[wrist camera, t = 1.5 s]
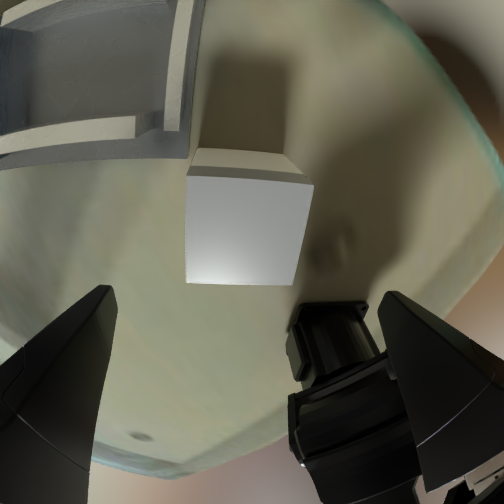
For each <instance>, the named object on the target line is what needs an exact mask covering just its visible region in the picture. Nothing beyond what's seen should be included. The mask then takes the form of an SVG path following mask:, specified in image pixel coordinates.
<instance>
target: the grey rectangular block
mask: <svg viewBox="0 0 504 504" xmlns="http://www.w3.org/2000/svg"><path fill="white" fill-rule="evenodd" d="M313 190H314V184H313V183H312V182H311V181H310V180H309V179H308V178H307V177H306V176H305V175H304V174H303V173H302V172H301V171H300V170H299V169H298V168H297V167H296V166H295V165H294V164H293V163H292V162H291V161H290V160H289V159H288V158H287V157H286V156H285V155H284V154H277V153H268V152H257V151H246V150H232V149H216V148H198V149H197V151H196V153H195V156H194V158H193V160H192V163H191V165H190V168H189V170H188V173H187V175H186V205H185V254H186V283H205V284H238V285H292V284H293V280H294V276H295V272H296V268H297V264H298V259H299V255H300V251H301V246H302V242H303V238H304V233H305V229H306V224H307V219H308V215H309V210H310V205H311V200H312V195H313Z"/></svg>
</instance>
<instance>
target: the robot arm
mask: <svg viewBox="0 0 504 504" xmlns="http://www.w3.org/2000/svg"><path fill="white" fill-rule="evenodd" d="M368 308H369V305H368V304H367V302H366V301H358V302H329V303H303V304H301V305H300V307H299V309H298V312H297V316H296V319H295V322H294V324H293V325H292V326H291V328H290V331H289V335H288V338H287V341H286V354H287V356H288V357H289V361H290V365H291V369H292V373H293V377H294V380H295V381H296V382H300V381H301V384H302V388H303V391H301V392H298V393H293V394H290V395H288V432H289V448H290V451H291V452H292V453H294V455H295V457H296V459H297V460H298V462H299V463H300V464H301V465H302V466H303V467H305V468H306V469H307V470H308V472H309V474H310V476H311V477H312V480H313V482H314V484H315V487H316V489H317V492H318V495H319V498H320V500H321V502H322V503H323V504H421V503H420V500H419V497H418V494H417V491H416V488H415V486H416V483H417V480H418V478H419V476H420V475H423V480H424V485H425V490H426V493H429V492H431V491H434V490H436V489H438V488H440V487H442V486H444V485H446V484H448V483H451V482H452V481H454V480H456V479H458V478H460V477H462V476H464V478H465V480H463V481H462V482H460V483H459V484H457V485H456V486H454V487H453V488H451V489H450V490H448V493H447V496H446V498H445V501H444V503H443V504H504V360H502V359H501V358H499V357H497V356H496V355H494V354H493V353H491V352H489V351H488V350H486V349H485V348H483V347H482V346H480V345H479V344H477V343H476V342H475V341H473V340H472V339H469V337H467V336H466V335H464V334H463V333H461V332H460V331H458V330H457V329H455V328H454V327H452V326H451V325H449V324H448V323H446V322H445V321H443V320H442V319H440V318H439V317H437V316H436V315H434V314H433V313H431V312H430V311H428V310H427V309H425V308H424V307H422V306H420V305H419V304H417V303H416V302H414V301H413V300H411V299H409V298H408V297H406V296H405V295H403V294H402V293H400V292H398V291H387V292H386V293H385V295H384V297H383V299H382V301H381V303H380V305H379V307H378V318H379V321H380V325H381V329H382V332H383V336H384V340H385V344H386V348H387V349H385V351H384V352H382V353H380V351H379V349H378V347H377V345H376V343H375V341H374V339H373V337H372V335H371V333H370V332H369V330H368V328H367V326H366V324H365V322H364V320H363V319H364V317H365V315H366V313H367V310H368ZM304 309H306V310H304ZM117 313H118V307H117V302H116V298H115V294H114V290H113V287H112V286H111V285H99V286H97V287H96V288H94V289H93V290H92V291H90V292H89V293H88V294H86V295H85V296H84V297H83V298H81V299H80V300H79V301H77V302H76V303H75V304H74V305H72V306H71V307H70V308H68V309H67V310H66V311H65V312H63V313H62V314H61V315H60V316H58V317H57V318H56V319H55V320H53V321H52V322H51V323H50V324H49V325H47V326H46V327H45V328H44V329H43V330H41V331H40V332H39V333H38V334H37V335H35V336H34V337H33V338H32V339H31V340H29V341H28V342H27V343H26V344H25V345H24V347H21V348H20V349H19V350H18V351H17V352H16V353H14V354H13V355H12V356H11V357H10V358H9V359H7V360H6V361H5V362H4V363H3V364H1V365H0V504H87V501H88V485H89V471H90V463H91V455H92V447H93V440H94V433H95V427H96V421H97V416H98V410H99V405H100V400H101V395H102V390H103V386H104V381H105V377H106V373H107V369H108V364H109V360H110V356H111V350H112V344H113V337H114V330H115V324H116V318H117ZM394 378H395V379H394ZM393 379H394V380H393Z"/></svg>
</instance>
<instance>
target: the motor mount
mask: <svg viewBox="0 0 504 504" xmlns="http://www.w3.org/2000/svg"><path fill="white" fill-rule="evenodd" d="M204 6H205V0H27V1H25V2H22V3H20V4H18V5H16V6H14V7H12V8H11V9H9V10H7V11H5V12H4V13H3V16H2V17H0V171H1V170H7V169H13V168H20V167H27V166H35V165H43V164H52V163H62V162H74V161H88V160H106V159H138V158H173V159H187V158H188V156H189V142H190V126H191V113H192V101H193V90H194V80H195V70H196V62H197V53H198V46H199V38H200V31H201V24H202V18H203V12H204Z"/></svg>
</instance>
